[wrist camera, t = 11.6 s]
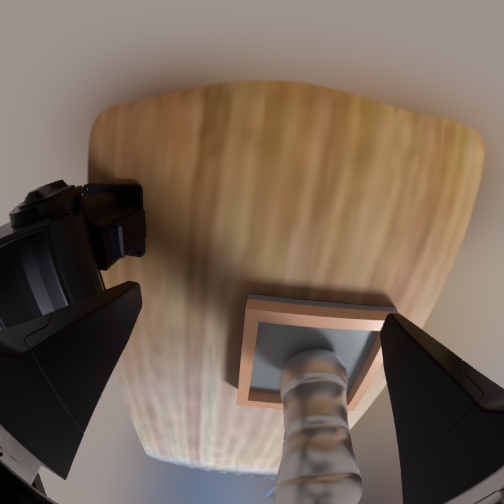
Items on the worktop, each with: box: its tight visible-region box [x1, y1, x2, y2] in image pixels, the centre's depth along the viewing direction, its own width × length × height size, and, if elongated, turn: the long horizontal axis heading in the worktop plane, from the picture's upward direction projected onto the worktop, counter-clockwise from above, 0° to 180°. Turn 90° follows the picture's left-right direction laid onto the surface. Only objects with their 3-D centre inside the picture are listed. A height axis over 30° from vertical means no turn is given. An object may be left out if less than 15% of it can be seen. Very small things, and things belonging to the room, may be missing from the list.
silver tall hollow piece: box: [273, 348, 363, 504], centre depth 17 cm, size 6×7×20 cm
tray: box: [237, 294, 398, 411], centre depth 26 cm, size 14×14×2 cm
